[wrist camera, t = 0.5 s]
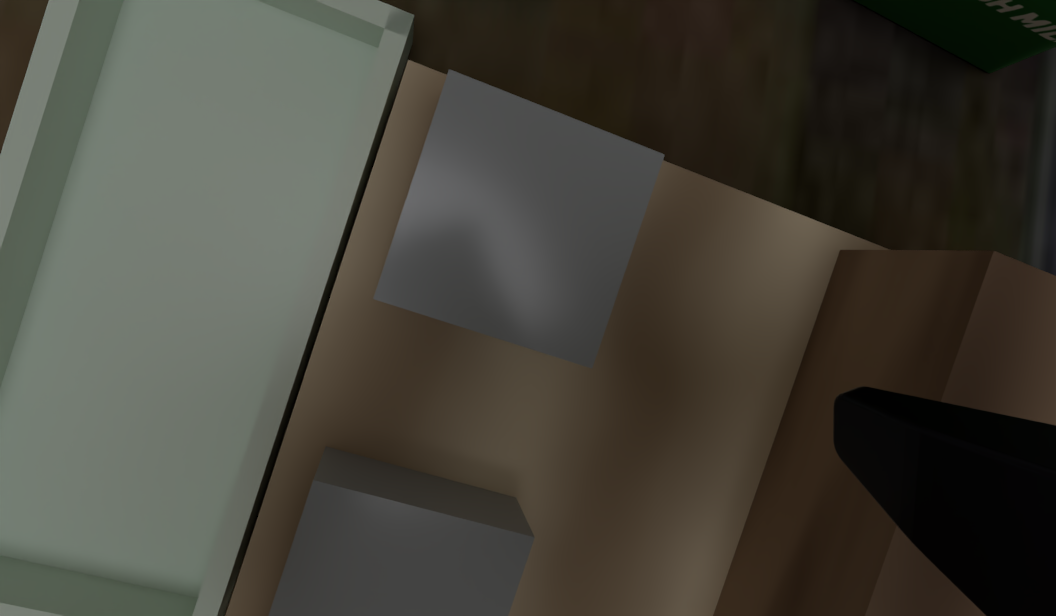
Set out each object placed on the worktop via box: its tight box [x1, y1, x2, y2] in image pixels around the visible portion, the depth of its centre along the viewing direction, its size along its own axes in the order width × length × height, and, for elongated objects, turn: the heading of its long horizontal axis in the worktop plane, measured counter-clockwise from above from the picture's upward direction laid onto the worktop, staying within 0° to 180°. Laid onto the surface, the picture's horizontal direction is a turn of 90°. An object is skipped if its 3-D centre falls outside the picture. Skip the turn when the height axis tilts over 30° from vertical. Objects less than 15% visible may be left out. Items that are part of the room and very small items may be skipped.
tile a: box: [269, 446, 535, 616], centre depth 16 cm, size 5×5×2 cm
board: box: [225, 60, 889, 616], centre depth 20 cm, size 17×15×4 cm
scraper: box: [713, 250, 1056, 616], centre depth 17 cm, size 4×14×5 cm, turn 160°
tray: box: [0, 0, 414, 616], centre depth 18 cm, size 8×18×2 cm, turn 161°
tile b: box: [373, 69, 665, 368], centre depth 16 cm, size 5×5×2 cm
